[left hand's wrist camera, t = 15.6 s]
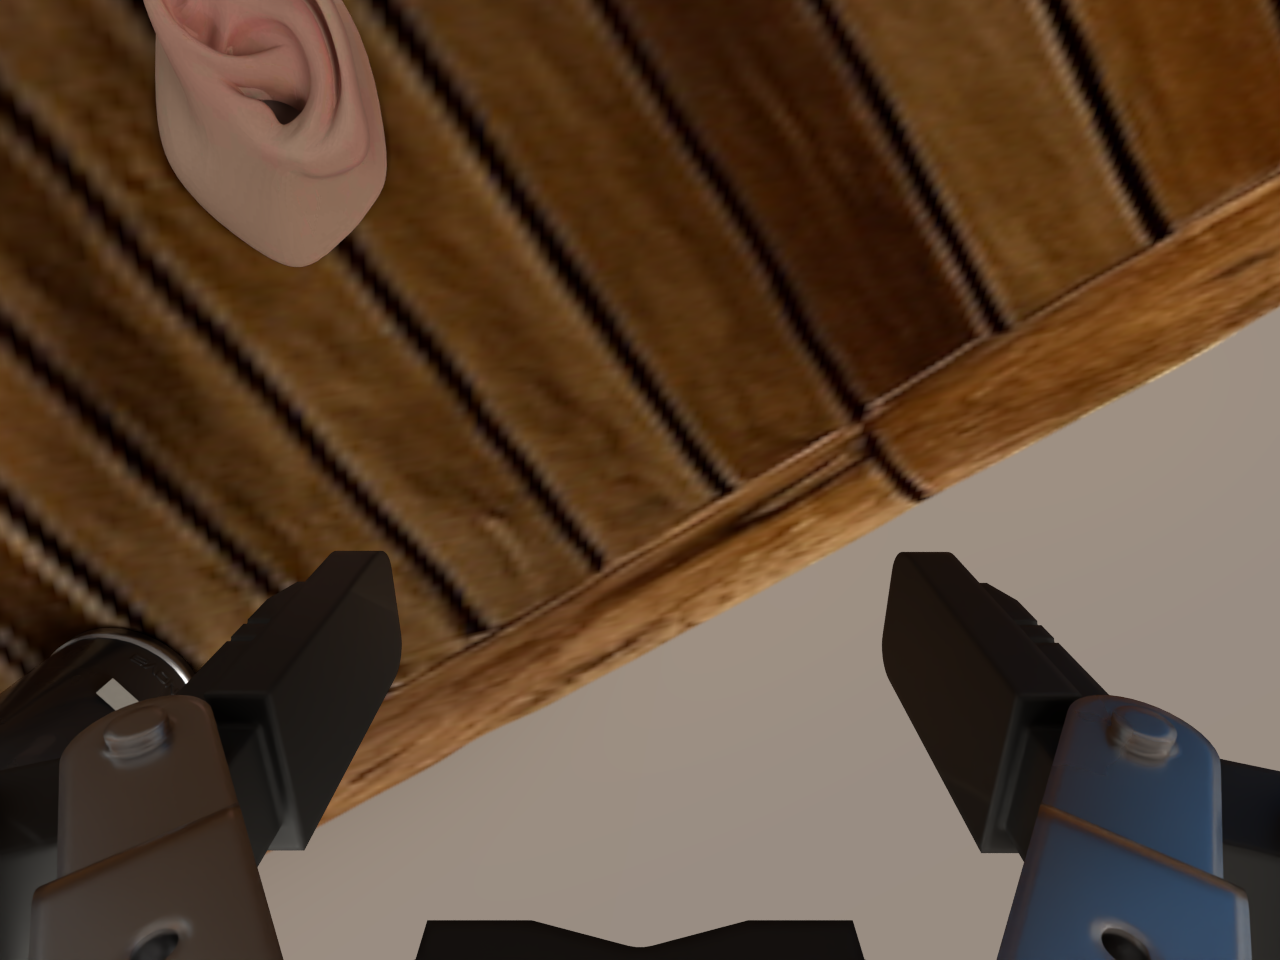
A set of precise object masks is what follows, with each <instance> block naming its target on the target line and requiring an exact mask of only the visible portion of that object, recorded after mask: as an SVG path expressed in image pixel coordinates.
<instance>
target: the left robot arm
mask: <svg viewBox="0 0 1280 960" xmlns="http://www.w3.org/2000/svg"><path fill="white" fill-rule="evenodd" d="M401 647H402V642H401V631H400V624H399V617H398V610H397V603H396V596H395V589H394V582H393V576H392V569H391V563H390V560H389V557H388V555H387V554H386V553H385V552H384V551H334V552H332V553H331V554H330V555H329V556H328V557H327V558H326V559H325V561H324V562H323V563H322V564H321V565H320V566H319V567H318V568H317V569H316V570H315V572H314V573H313V574H312V575H311V576H310V577H309V578H308V579H307V580H306V582H297V583H295V584H293V585H291V586H290V587H288V588H286V589H284V590H283V591H281V592H279V593H277V594H276V595H274V596H272V597H270V598H269V599H267V600H266V601H265V602H264V603H263V604H262V605H261V606H260V607H259V609H258V610H257V611H256V612H255V613H254V614H253V615H252V616H251V617H250V618H249V619H248V623H247V624H243V625H242V626H241V627H240V628H239V629H238V630H237V631H236V632H235V633H234V634H233V636H232V637H231V641H227V642H226V643H225V644H224V645H223V646H222V647H221V648H220V649H219V650H218V651H217V652H216V653H215V654H214V655H213V656H212V657H211V658H210V659H209V660H208V661H207V663H206V664H205V665H204V666H203V667H202V668H201V669H200V670H199V671H198V672H197V673H196V674H195V673H194V671H193V670H192V669H191V667H190V666H189V665H188V664H187V662H186V661H185V660H184V659H183V658H182V657H181V656H180V655H179V654H177V653H176V652H175V651H174V650H172V649H171V648H169V647H168V646H167V645H165V644H163V643H162V642H160V641H158V640H156V639H154V638H152V637H150V636H147V635H145V634H142V633H139V632H135V631H131V630H126V629H119V628H100V629H94V630H89V631H86V632H83V633H81V634H78V635H77V636H75V637H73V638H72V639H70V640H69V641H67V642H66V643H65V644H63V645H62V646H61V647H59V648H58V649H57V650H56V651H55V652H54V653H53V654H52V655H51V656H50V657H49V658H48V659H46V660H45V661H44V662H42V663H41V664H40V665H38V666H37V667H36V668H34V669H33V670H32V671H30V672H29V673H28V674H26V675H25V676H24V677H22V678H21V679H19V680H18V681H17V682H15V683H14V684H13V685H11V686H10V687H9V688H7V689H6V690H5V691H3V692H2V693H1V694H0V960H283V957H282V953H281V950H280V946H279V943H278V939H277V935H276V932H275V928H274V925H273V921H272V918H271V914H270V911H269V907H268V904H267V900H266V897H265V893H264V890H263V886H262V882H261V879H260V875H259V872H258V868H257V867H258V865H259V863H260V862H261V860H262V858H263V857H264V855H265V853H266V852H267V850H305V848H306V846H307V844H308V842H309V840H310V838H311V836H312V835H313V833H314V831H315V829H316V827H317V825H318V823H319V821H320V819H321V818H322V816H323V814H324V812H325V810H326V808H327V806H328V804H329V802H330V800H331V799H332V797H333V795H334V793H335V791H336V789H337V787H338V785H339V783H340V781H341V780H342V778H343V776H344V774H345V772H346V770H347V768H348V766H349V764H350V762H351V761H352V759H353V757H354V755H355V753H356V751H357V749H358V747H359V745H360V743H361V742H362V740H363V738H364V736H365V734H366V732H367V730H368V728H369V726H370V724H371V723H372V721H373V719H374V717H375V715H376V713H377V711H378V709H379V707H380V705H381V704H382V702H383V700H384V698H385V696H386V694H387V692H388V690H389V688H390V686H391V685H392V683H393V681H394V679H395V677H396V674H397V672H398V668H399V664H400V658H401ZM882 654H883V662H884V667H885V671H886V674H887V676H888V679H889V681H890V682H891V684H892V686H893V688H894V690H895V692H896V694H897V696H898V698H899V699H900V701H901V703H902V705H903V707H904V709H905V711H906V713H907V714H908V716H909V718H910V720H911V722H912V724H913V726H914V728H915V729H916V731H917V733H918V735H919V737H920V739H921V741H922V743H923V744H924V746H925V748H926V750H927V752H928V754H929V756H930V758H931V759H932V761H933V763H934V765H935V767H936V769H937V771H938V773H939V775H940V776H941V778H942V780H943V782H944V784H945V786H946V788H947V789H948V791H949V793H950V795H951V797H952V799H953V801H954V803H955V805H956V806H957V808H958V810H959V812H960V814H961V816H962V818H963V820H964V821H965V823H966V825H967V827H968V829H969V831H970V833H971V835H972V836H973V838H974V840H975V842H976V844H977V846H978V848H979V850H980V851H981V853H1019V854H1020V856H1021V858H1022V859H1023V861H1024V865H1023V868H1022V872H1021V875H1020V879H1019V882H1018V886H1017V890H1016V893H1015V897H1014V900H1013V904H1012V907H1011V911H1010V914H1009V918H1008V921H1007V925H1006V929H1005V932H1004V935H1003V939H1002V943H1001V946H1000V950H999V953H998V957H997V960H1280V771H1276V770H1270V769H1266V768H1261V767H1256V766H1251V765H1247V764H1241V763H1237V762H1232V761H1227V760H1223V759H1220V758H1219V756H1218V754H1217V752H1216V750H1215V748H1214V747H1213V746H1212V744H1211V743H1210V742H1209V741H1208V740H1207V739H1206V738H1205V737H1204V736H1203V735H1202V734H1201V733H1200V732H1199V731H1197V730H1196V729H1195V728H1193V727H1192V726H1191V725H1189V724H1188V723H1186V722H1185V721H1183V720H1181V719H1180V718H1178V717H1176V716H1174V715H1172V714H1170V713H1168V712H1166V711H1164V710H1162V709H1160V708H1157V707H1155V706H1152V705H1149V704H1147V703H1144V702H1140V701H1137V700H1134V699H1129V698H1124V697H1119V696H1111V695H1109V694H1107V692H1106V691H1105V690H1104V689H1103V688H1102V687H1101V686H1100V685H1099V684H1098V683H1097V682H1096V681H1095V680H1094V679H1093V678H1092V677H1091V676H1090V675H1089V674H1088V673H1087V672H1086V671H1085V670H1084V669H1083V668H1082V667H1081V666H1080V665H1079V664H1078V663H1077V662H1076V661H1075V660H1074V659H1073V658H1072V656H1071V655H1070V654H1069V653H1068V652H1067V651H1066V650H1065V649H1064V648H1063V647H1062V646H1061V645H1060V644H1059V643H1054V638H1053V637H1052V636H1051V635H1050V634H1049V633H1048V632H1047V631H1046V630H1045V629H1044V628H1043V627H1042V626H1041V625H1037V620H1036V619H1035V618H1034V617H1033V616H1032V615H1031V614H1030V613H1029V612H1028V611H1027V610H1026V609H1025V608H1024V607H1023V606H1022V605H1021V604H1020V603H1019V602H1018V601H1017V600H1015V599H1014V598H1012V597H1010V596H1008V595H1007V594H1005V593H1003V592H1001V591H1000V590H998V589H996V588H994V587H993V586H991V585H989V584H987V583H979V582H978V581H977V580H976V579H975V578H974V577H973V576H972V574H971V573H970V572H969V571H968V570H967V569H966V568H965V567H964V566H963V565H962V563H961V562H960V561H959V560H958V559H957V558H956V557H955V556H954V555H953V554H952V553H950V552H901V553H899V554H898V555H897V556H896V558H895V561H894V564H893V569H892V575H891V582H890V589H889V596H888V603H887V610H886V616H885V623H884V630H883V638H882ZM416 960H864V957H863V953H862V950H861V947H860V943H859V940H858V937H857V933H856V930H855V927H854V923H853V921H852V920H748V921H744V922H741V923H737V924H733V925H729V926H726V927H722V928H718V929H714V930H710V931H707V932H703V933H699V934H695V935H691V936H688V937H684V938H680V939H676V940H672V941H669V942H665V943H661V944H657V945H653V946H649V947H632V946H627V945H623V944H619V943H615V942H611V941H608V940H604V939H600V938H596V937H593V936H589V935H585V934H581V933H577V932H574V931H570V930H566V929H562V928H558V927H554V926H551V925H547V924H543V923H540V922H536V921H531V920H428V921H427V924H426V927H425V930H424V933H423V937H422V940H421V943H420V947H419V950H418V953H417V957H416Z"/></svg>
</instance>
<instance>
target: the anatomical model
mask: <svg viewBox="0 0 1280 960" xmlns="http://www.w3.org/2000/svg"><path fill="white" fill-rule="evenodd" d="M143 1H144V4H145V7H146V10H147V13H148V15H149V18H150V20H151V23H152V25H153V28H154V30H155V33H156V49H155V84H156V107H157V119H158V126H159V132H160V137H161V141H162V145H163V148H164V151H165V154H166V156H167V159H168V161H169V163H170V165H171V167H172V169H173V171H174V172H175V174H176V176H177V177H178V179H179V180H180V181H181V183H182V184H183V185H184V187H185V188H186V189H187V190H188V192H189V193H190V194H191V195H192V196H193V197H194V198H195V199H196V200H197V202H198V203H199V204H200V205H201V206H202V207H203V208H204V209H205V210H206V211H208V212H209V213H210V214H211V215H212V216H213V217H214V218H215V219H216V220H217V221H219V222H220V223H221V224H222V225H224V226H225V227H226V228H227V229H228V230H230V231H231V232H232V233H233V234H235V235H236V236H237V237H239V238H240V239H242V240H243V241H244V242H246V243H247V244H249V245H250V246H251V247H253V248H254V249H256V250H257V251H259V252H261V253H262V254H264V255H265V256H267V257H269V258H271V259H273V260H275V261H277V262H279V263H281V264H284V265H287V266H292V267H303V266H307V265H310V264H312V263H314V262H316V261H318V260H319V259H321V258H322V257H324V256H325V255H326V254H328V253H329V252H330V251H331V250H332V249H333V248H334V247H336V246H337V245H338V244H339V243H340V242H341V241H342V240H343V239H344V238H345V237H346V236H347V235H348V234H349V233H350V232H351V231H352V230H353V229H354V228H355V227H356V226H357V225H358V224H359V223H360V222H361V220H362V219H363V217H364V216H365V215H366V213H367V212H368V211H369V209H370V208H371V206H372V205H373V204H374V202H375V201H376V199H377V198H378V196H379V194H380V192H381V190H382V188H383V185H384V182H385V178H386V170H387V160H386V145H385V137H384V129H383V123H382V117H381V111H380V105H379V100H378V95H377V90H376V86H375V81H374V78H373V74H372V70H371V67H370V63H369V59H368V56H367V53H366V51H365V48H364V45H363V42H362V40H361V37H360V34H359V32H358V30H357V28H356V26H355V24H354V22H353V20H352V18H351V15H350V14H349V12H348V10H347V8H346V7H345V5H344V3H343V1H342V0H143Z"/></svg>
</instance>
